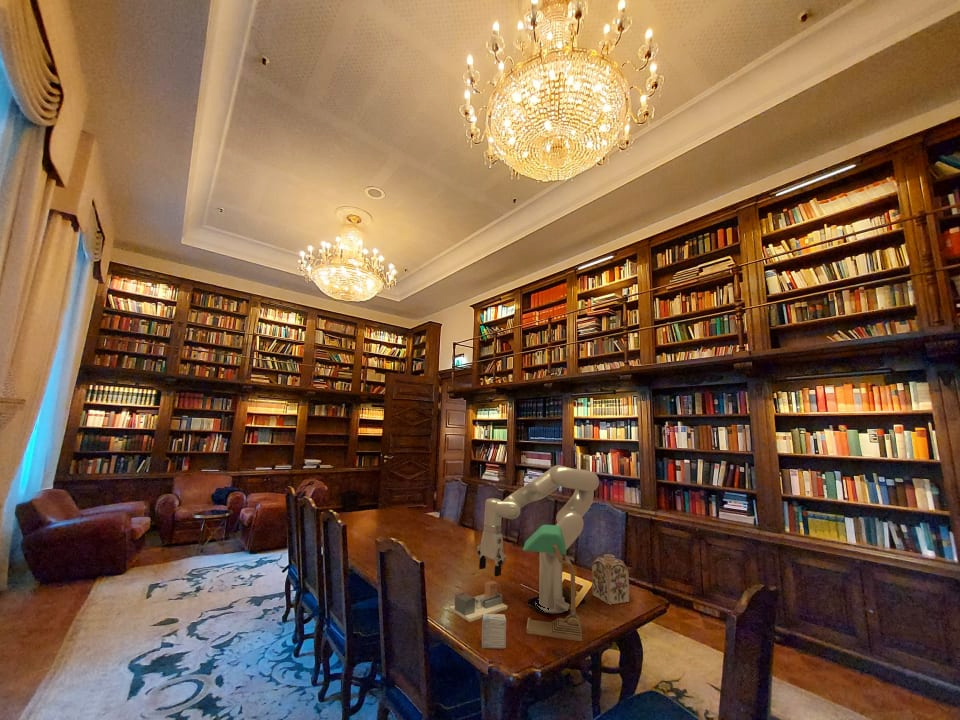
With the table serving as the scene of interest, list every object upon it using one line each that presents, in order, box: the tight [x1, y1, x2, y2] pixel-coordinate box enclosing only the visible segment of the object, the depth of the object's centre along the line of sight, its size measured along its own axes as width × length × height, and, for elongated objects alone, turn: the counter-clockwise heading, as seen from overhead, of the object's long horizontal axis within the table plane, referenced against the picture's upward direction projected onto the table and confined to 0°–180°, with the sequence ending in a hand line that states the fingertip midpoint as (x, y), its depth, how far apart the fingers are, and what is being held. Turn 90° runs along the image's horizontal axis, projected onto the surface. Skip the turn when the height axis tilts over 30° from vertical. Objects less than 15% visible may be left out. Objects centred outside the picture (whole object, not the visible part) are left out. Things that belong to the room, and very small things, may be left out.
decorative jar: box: [591, 553, 630, 606], centre depth 170 cm, size 12×12×18 cm
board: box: [449, 592, 508, 623], centre depth 153 cm, size 13×20×4 cm, turn 131°
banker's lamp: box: [522, 524, 583, 642], centre depth 140 cm, size 16×21×35 cm
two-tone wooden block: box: [473, 580, 498, 609], centre depth 155 cm, size 3×11×7 cm, turn 131°
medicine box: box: [481, 613, 507, 649], centre depth 126 cm, size 8×4×9 cm, turn 92°
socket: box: [454, 592, 475, 616], centre depth 148 cm, size 7×5×5 cm
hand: (489, 572), depth 159 cm, fingers open, 9 cm apart
